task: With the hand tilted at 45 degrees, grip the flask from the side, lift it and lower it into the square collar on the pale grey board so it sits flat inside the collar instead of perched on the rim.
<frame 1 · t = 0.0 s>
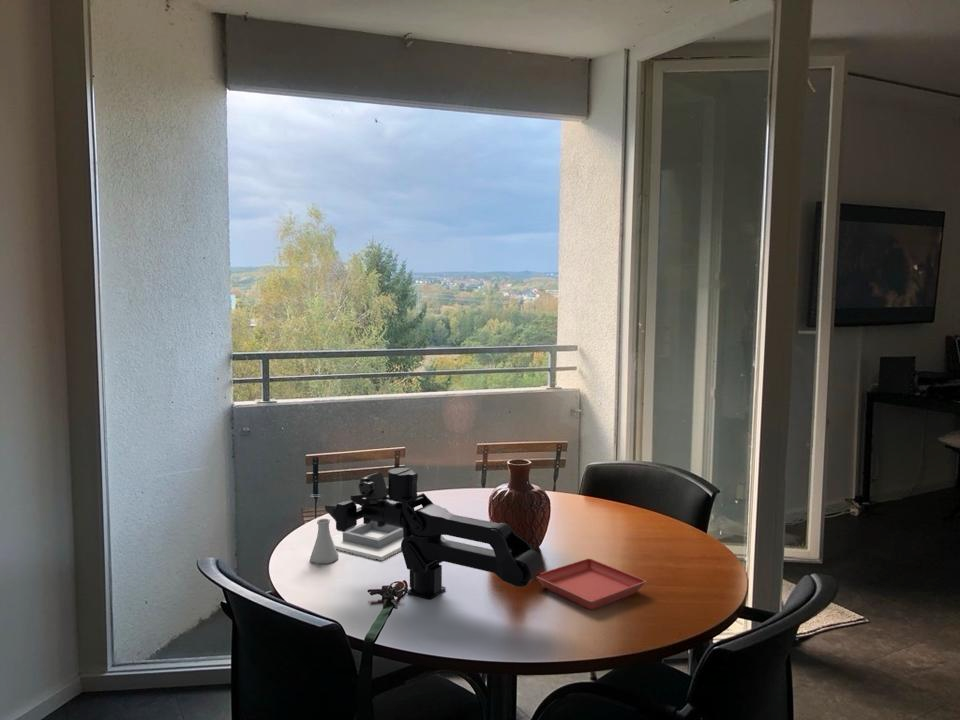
hand: (338, 502, 173), 17 cm above the table, tool horizontal, fingers open, 9 cm apart
plant saucer: (589, 592, 164), on the table
flask: (324, 560, 181), on the table
collar board: (374, 541, 194), on the table
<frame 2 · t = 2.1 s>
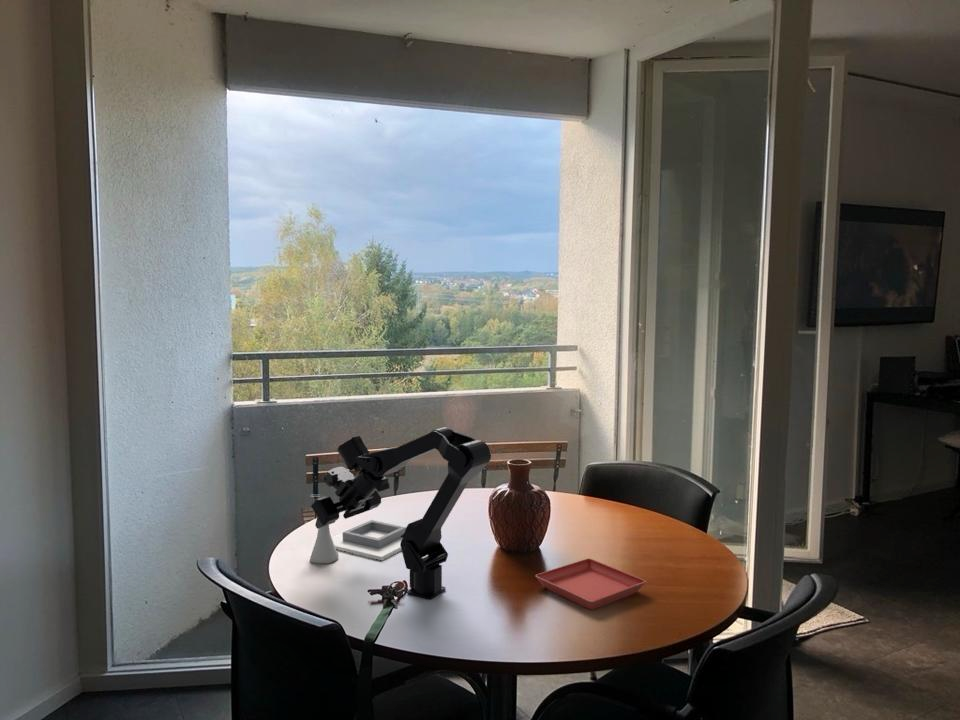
hand: (330, 521, 178), 10 cm above the table, tool tilted 45°, fingers open, 9 cm apart
nothing on the table moved.
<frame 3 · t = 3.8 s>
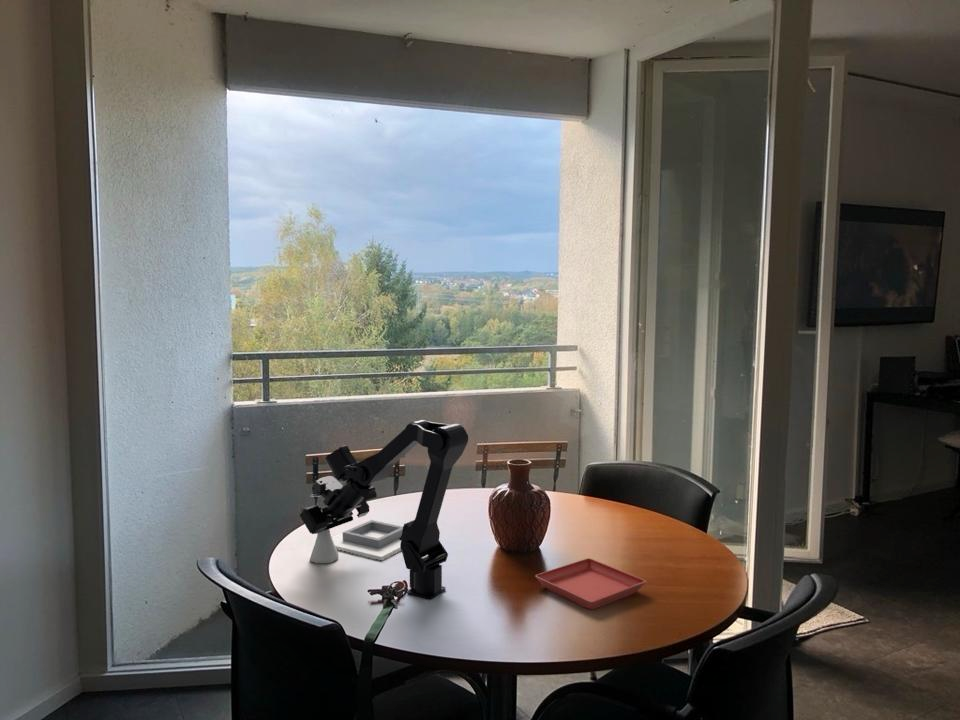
hand: (319, 530, 181), 7 cm above the table, tool tilted 45°, fingers closed on flask, 3 cm apart
flask: (324, 559, 181), on the table, touching gripper
everything else where it was.
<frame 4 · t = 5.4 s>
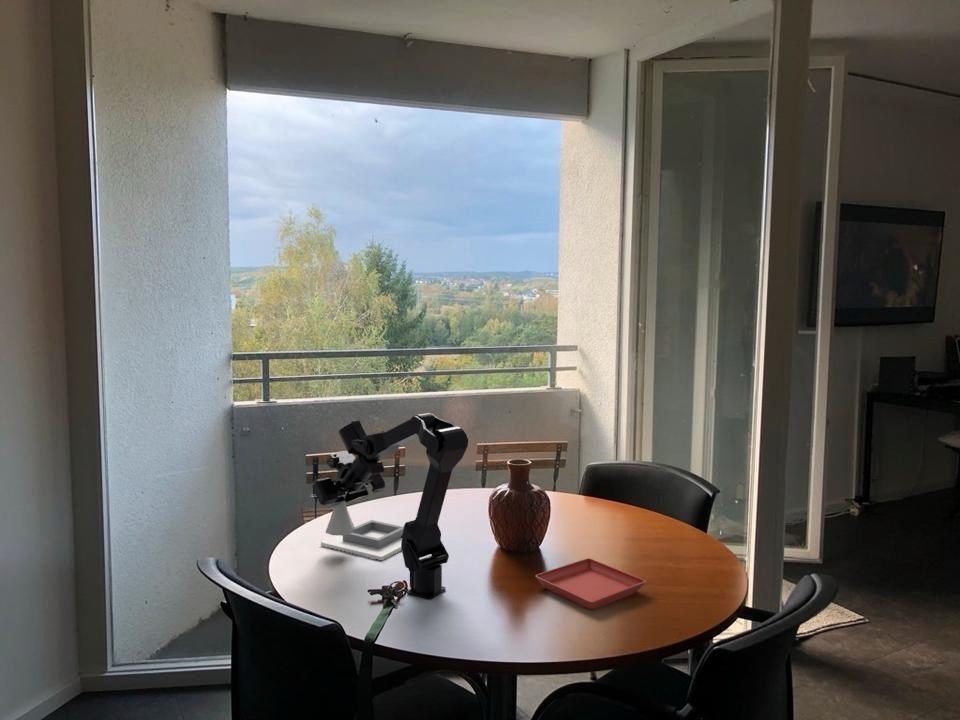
hand: (337, 503, 186), 12 cm above the table, tool tilted 45°, fingers closed on flask, 3 cm apart
flask: (340, 532, 185), point 5 cm above the table, touching gripper
everything else where it was.
when the fingers open (9 cm above the table, at t = 7.1 s): flask drops 1 cm, resting on collar board.
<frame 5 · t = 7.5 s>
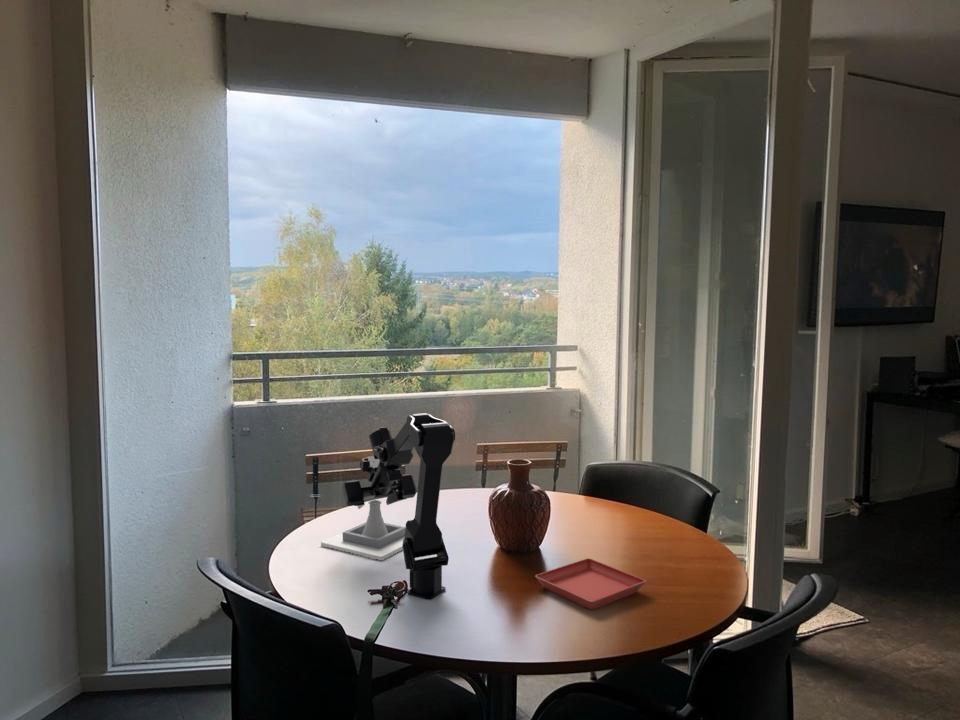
hand: (372, 505, 194), 10 cm above the table, tool tilted 45°, fingers open, 8 cm apart
flask: (375, 538, 193), point 1 cm above the table, touching collar board
everything else where it was.
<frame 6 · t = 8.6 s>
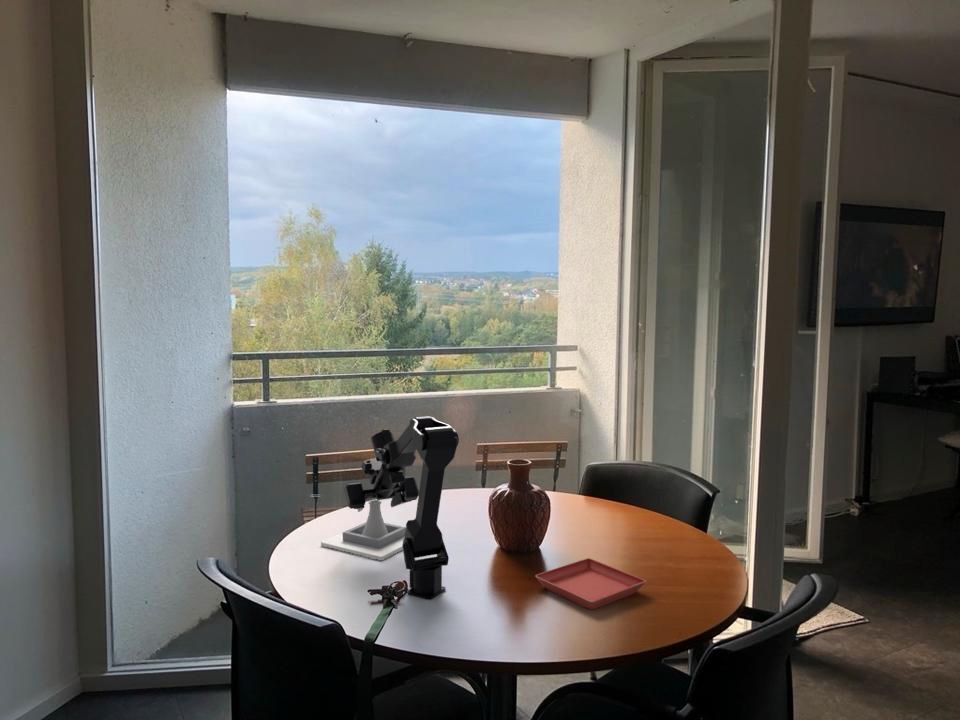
hand: (375, 507, 192), 9 cm above the table, tool tilted 45°, fingers open, 9 cm apart
nothing on the table moved.
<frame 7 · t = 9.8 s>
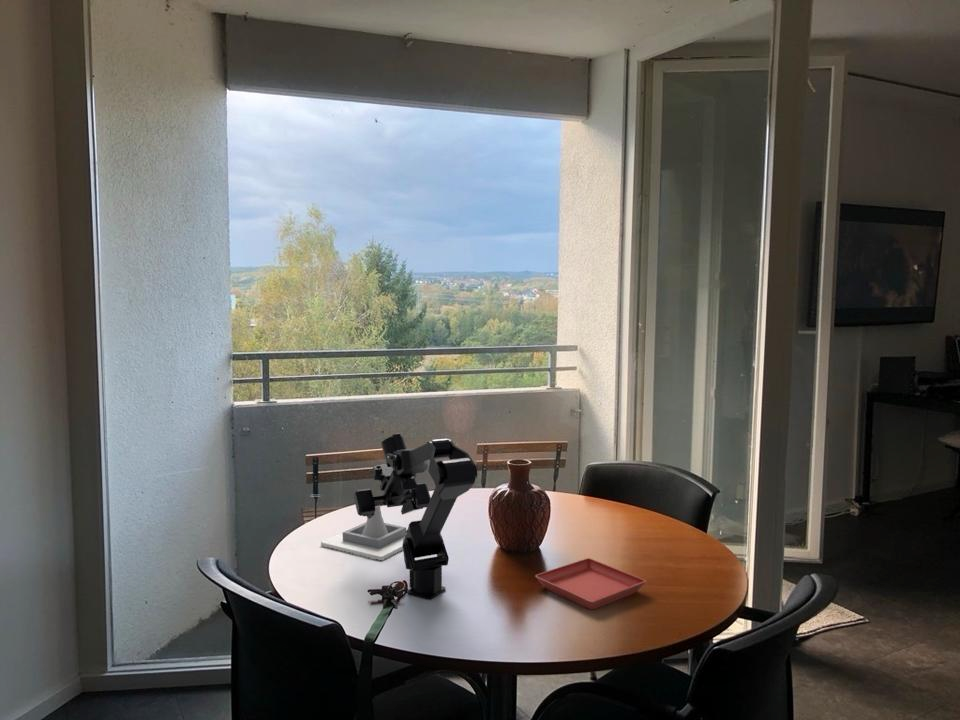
hand: (385, 515, 185), 10 cm above the table, tool tilted 45°, fingers open, 9 cm apart
nothing on the table moved.
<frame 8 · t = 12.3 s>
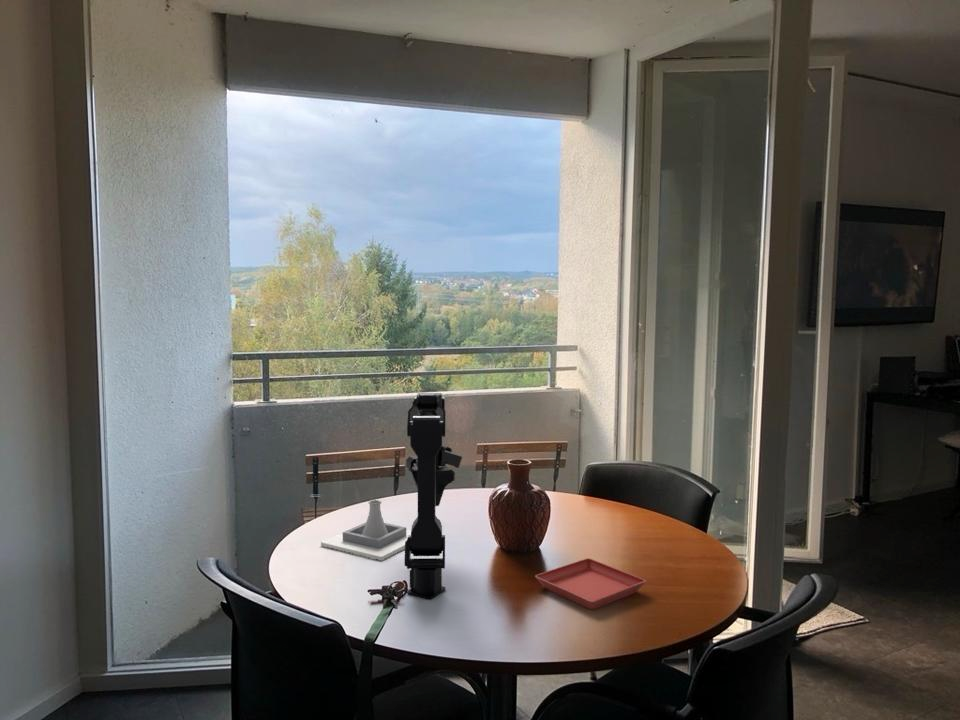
hand: (429, 501, 186), 13 cm above the table, tool pointing down, fingers open, 9 cm apart
nothing on the table moved.
at the end: flask 0.1 cm off-centre on the collar board, point 0.8 cm above the collar board's base; flask tilted 0°; the gripper is holding nothing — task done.
